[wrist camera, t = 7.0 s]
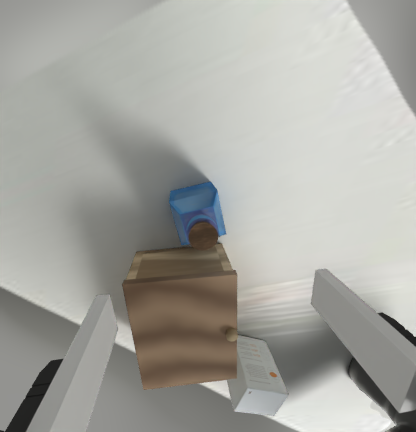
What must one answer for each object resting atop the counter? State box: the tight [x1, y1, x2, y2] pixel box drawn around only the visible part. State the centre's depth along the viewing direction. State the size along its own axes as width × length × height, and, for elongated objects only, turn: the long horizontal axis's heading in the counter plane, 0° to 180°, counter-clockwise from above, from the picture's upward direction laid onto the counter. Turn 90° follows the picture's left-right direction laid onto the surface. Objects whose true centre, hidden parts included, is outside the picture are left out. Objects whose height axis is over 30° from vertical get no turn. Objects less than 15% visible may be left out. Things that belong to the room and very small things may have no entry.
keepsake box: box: [126, 244, 233, 280], centre depth 36 cm, size 18×14×8 cm
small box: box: [227, 335, 289, 416], centre depth 41 cm, size 8×6×10 cm
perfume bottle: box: [169, 182, 226, 251], centre depth 29 cm, size 6×6×12 cm
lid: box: [122, 270, 238, 390], centre depth 31 cm, size 19×14×2 cm
